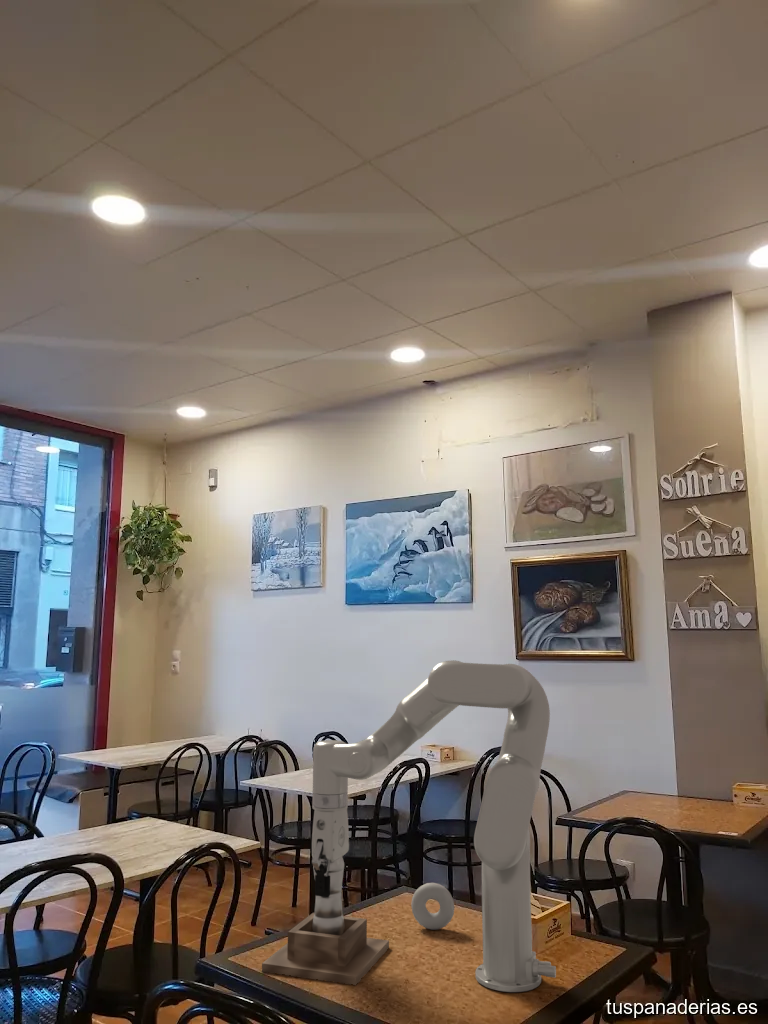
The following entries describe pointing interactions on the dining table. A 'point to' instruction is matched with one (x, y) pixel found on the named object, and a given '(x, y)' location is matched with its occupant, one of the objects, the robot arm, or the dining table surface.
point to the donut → (423, 915)
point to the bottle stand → (327, 953)
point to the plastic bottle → (330, 903)
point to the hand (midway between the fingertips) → (328, 890)
